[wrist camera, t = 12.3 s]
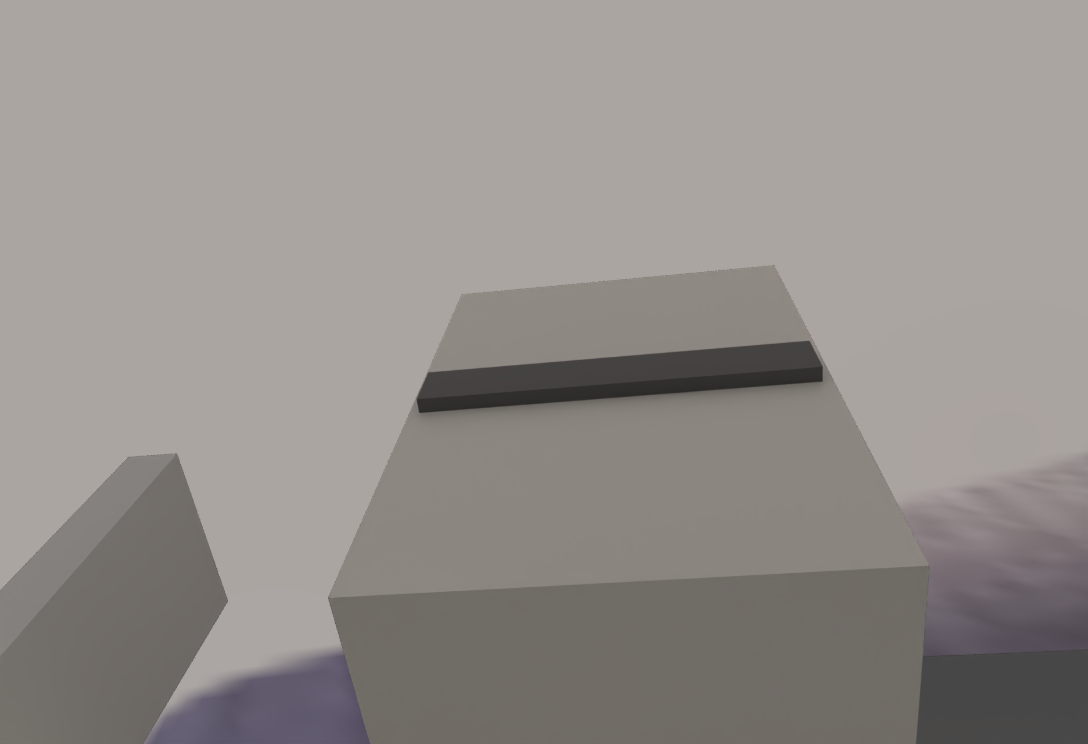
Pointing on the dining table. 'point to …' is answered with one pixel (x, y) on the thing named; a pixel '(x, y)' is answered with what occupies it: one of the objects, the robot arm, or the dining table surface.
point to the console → (1004, 698)
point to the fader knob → (633, 533)
